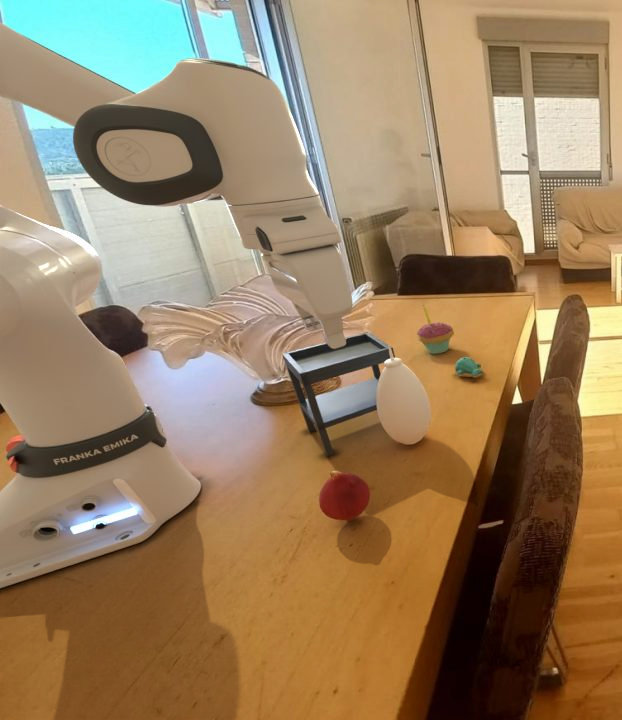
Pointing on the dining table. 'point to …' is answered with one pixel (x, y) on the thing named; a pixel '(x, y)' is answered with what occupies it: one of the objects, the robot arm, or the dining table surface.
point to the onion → (344, 496)
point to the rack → (329, 364)
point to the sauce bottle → (402, 402)
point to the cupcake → (435, 335)
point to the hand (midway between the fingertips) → (325, 337)
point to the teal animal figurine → (468, 368)
